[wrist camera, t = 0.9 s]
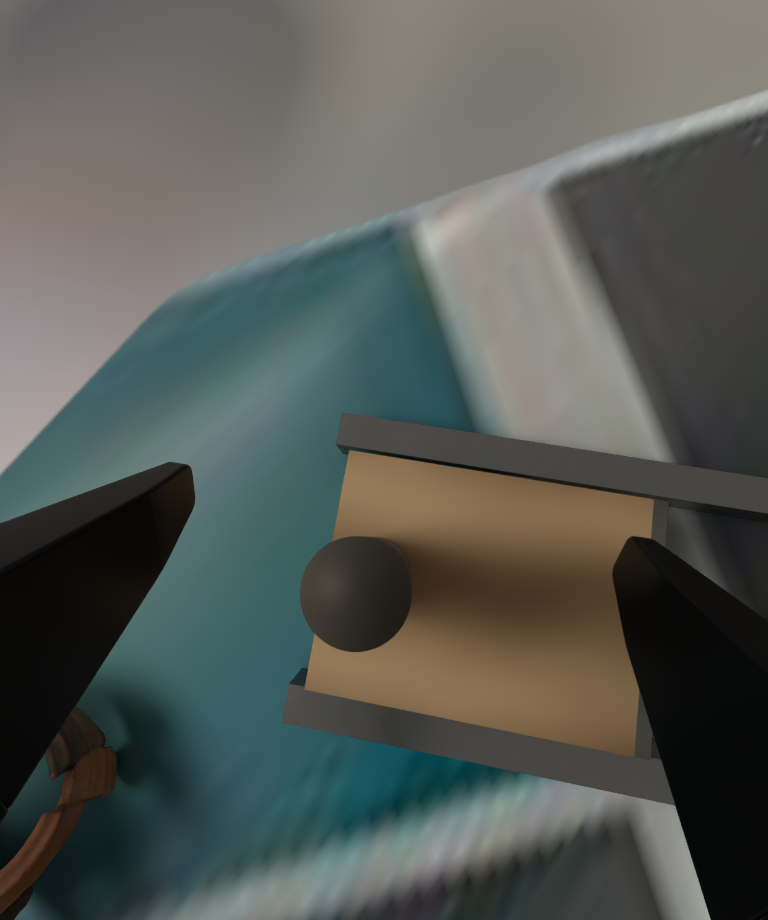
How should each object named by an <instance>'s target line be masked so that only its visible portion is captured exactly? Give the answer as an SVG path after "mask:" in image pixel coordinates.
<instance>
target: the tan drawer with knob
mask: <svg viewBox="0 0 768 920" xmlns="http://www.w3.org/2000/svg"><path fill="white" fill-rule="evenodd" d="M668 506H669V502H667V501H661V500H655V499H649V498H642V497H636V496H630V495H624V494H618V493H611V492H605V491H599V490H593V489H587V488H581V487H574V486H568V485H562V484H556V483H550V482H543V481H537V480H531V479H525V478H519V477H512V476H506V475H500V474H494V473H488V472H481V471H475V470H469V469H463V468H457V467H451V466H444V465H438V464H432V463H426V462H420V461H413V460H407V459H401V458H395V457H389V456H382V455H376V454H370V453H364V452H358V451H352V450H349V455H348V460H347V466H346V471H345V476H344V481H343V487H342V492H341V497H340V503H339V508H338V513H337V519H336V524H335V529H334V535H333V540H332V542H331V543H329V544H327V545H326V546H324V547H323V548H322V549H321V550H319V551H318V552H317V553H316V554H315V556H314V557H313V558H312V559H311V561H310V562H309V564H308V566H307V568H306V570H305V572H304V575H303V578H302V582H301V588H300V600H301V607H302V611H303V614H304V617H305V619H306V621H307V623H308V625H309V627H310V628H311V629H312V631H313V632H314V633H315V635H314V641H313V646H312V651H311V657H310V662H309V667H308V672H307V678H306V683H305V688H304V690H309V691H314V692H319V693H323V694H328V695H333V696H338V697H343V698H348V699H353V700H358V701H362V702H367V703H372V704H377V705H382V706H387V707H392V708H397V709H401V710H406V711H411V712H416V713H421V714H426V715H431V716H436V717H440V718H445V719H450V720H455V721H460V722H465V723H470V724H475V725H479V726H484V727H489V728H494V729H499V730H504V731H509V732H513V733H518V734H523V735H528V736H533V737H538V738H543V739H548V740H552V741H557V742H562V743H567V744H572V745H577V746H582V747H587V748H591V749H596V750H601V751H606V752H611V753H616V754H621V755H626V756H630V757H635V758H640V759H645V760H650V758H651V744H652V729H651V726H650V723H649V720H648V716H647V713H646V710H645V707H644V704H643V700H642V697H641V694H640V691H639V688H638V684H637V681H636V678H635V675H634V671H633V668H632V665H631V662H630V659H629V655H628V652H627V648H626V644H625V640H624V635H623V630H622V625H621V620H620V615H619V609H618V604H617V599H616V594H615V589H614V583H613V578H612V570H613V566H614V564H615V562H616V560H617V558H618V556H619V554H620V552H621V550H622V548H623V546H624V544H625V542H626V541H627V539H628V538H629V537H631V536H638V537H645V538H651V539H653V540H655V541H657V542H658V543H659V544H661V545H662V546H664V547H665V548H666V534H667V520H668Z"/></svg>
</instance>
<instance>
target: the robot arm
mask: <svg viewBox="0 0 768 920" xmlns="http://www.w3.org/2000/svg"><path fill="white" fill-rule="evenodd" d="M194 504H195V491H194V483H193V474H192V469H191V467H190V466H189V465H187V464H181V463H175V462H168V463H165V464H162V465H159V466H157V467H154V468H151V469H148V470H146V471H143V472H140V473H137V474H135V475H132V476H129V477H126V478H124V479H121V480H118V481H115V482H113V483H110V484H107V485H104V486H102V487H99V488H96V489H93V490H91V491H88V492H85V493H82V494H80V495H77V496H74V497H71V498H69V499H66V500H63V501H60V502H58V503H55V504H52V505H49V506H47V507H44V508H41V509H38V510H36V511H33V512H30V513H27V514H25V515H22V516H19V517H16V518H14V519H11V520H8V521H5V522H3V523H0V823H1V821H2V820H3V818H4V817H5V815H6V814H7V812H8V809H7V808H9V807H10V806H11V805H12V804H13V802H14V801H15V799H16V797H17V796H18V794H19V793H20V791H21V790H22V788H23V787H24V785H25V783H26V782H27V780H28V779H29V777H30V776H31V774H32V773H33V771H34V769H35V768H36V766H37V765H38V763H39V762H40V760H41V759H42V757H43V755H44V754H45V752H46V751H47V749H48V748H49V746H50V745H51V743H52V741H53V740H54V738H55V737H56V735H57V734H58V732H59V731H60V729H61V727H62V726H63V724H64V723H65V721H66V720H67V718H68V717H69V715H70V713H71V712H72V710H73V709H74V707H75V706H76V704H77V703H78V701H79V699H80V698H81V696H82V695H83V693H84V692H85V690H86V689H87V687H88V685H89V684H90V682H91V681H92V679H93V678H94V676H95V675H96V673H97V671H98V670H99V668H100V667H101V665H102V664H103V662H104V661H105V659H106V657H107V656H108V654H109V653H110V651H111V650H112V648H113V647H114V645H115V643H116V642H117V640H118V639H119V637H120V636H121V634H122V633H123V631H124V629H125V628H126V626H127V625H128V623H129V622H130V620H131V619H132V617H133V615H134V614H135V612H136V611H137V609H138V608H139V606H140V605H141V603H142V601H143V600H144V598H145V597H146V595H147V594H148V592H149V591H150V589H151V587H152V586H153V584H154V583H155V581H156V580H157V578H158V576H159V575H160V573H161V572H162V570H163V568H164V566H165V564H166V563H167V561H168V559H169V557H170V555H171V553H172V551H173V549H174V547H175V545H176V543H177V540H178V538H179V536H180V534H181V532H182V530H183V528H184V526H185V524H186V522H187V520H188V518H189V516H190V514H191V512H192V510H193V508H194ZM612 578H613V583H614V589H615V594H616V599H617V604H618V609H619V615H620V620H621V625H622V630H623V635H624V640H625V644H626V648H627V652H628V655H629V659H630V662H631V665H632V668H633V671H634V675H635V678H636V681H637V684H638V688H639V691H640V694H641V697H642V700H643V704H644V707H645V710H646V713H647V716H648V720H649V723H650V726H651V729H652V732H653V736H654V739H655V742H656V745H657V748H658V752H659V755H660V758H661V761H662V765H663V768H664V771H665V774H666V777H667V781H668V784H669V787H670V790H671V793H672V797H673V800H674V803H675V806H676V809H677V813H678V816H679V819H680V822H681V826H682V829H683V832H684V835H685V838H686V842H687V845H688V848H689V851H690V854H691V858H692V861H693V864H694V867H695V870H696V874H697V877H698V880H699V883H700V887H701V890H702V893H703V896H704V899H705V903H706V906H707V909H708V912H709V915H710V919H711V920H768V621H767V620H766V619H764V618H763V617H761V616H760V615H759V614H757V613H756V612H754V611H753V610H752V609H750V608H749V607H747V606H746V605H745V604H743V603H742V602H740V601H739V600H738V599H736V598H735V597H734V596H732V595H731V594H729V593H728V592H727V591H725V590H724V589H722V588H721V587H720V586H718V585H717V584H715V583H714V582H713V581H711V580H710V579H708V578H707V577H706V576H704V575H703V574H701V573H700V572H699V571H697V570H696V569H694V568H693V567H692V566H690V565H689V564H687V563H686V562H685V561H683V560H682V559H680V558H679V557H678V556H676V555H675V554H673V553H672V552H671V551H669V550H668V549H666V548H665V547H664V546H662V545H661V544H659V543H658V542H657V541H655V540H653V539H651V538H645V537H638V536H631V537H629V538H628V539H627V541H626V542H625V544H624V546H623V548H622V550H621V552H620V554H619V556H618V558H617V560H616V562H615V564H614V566H613V570H612Z"/></svg>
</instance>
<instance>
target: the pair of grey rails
mask: <svg viewBox="0 0 768 920" xmlns="http://www.w3.org/2000/svg"><path fill="white" fill-rule="evenodd" d="M336 445H337V446H338V448H339V449H340V450H341V452H342V453H344V454H349V450H352V451H358V452H364V453H370V454H376V455H382V456H389V457H395V458H401V459H407V460H413V461H420V462H426V463H432V464H438V465H444V466H451V467H457V468H463V469H469V470H475V471H481V472H488V473H494V474H500V475H506V476H512V477H519V478H525V479H531V480H537V481H543V482H550V483H556V484H562V485H568V486H574V487H581V488H587V489H593V490H599V491H605V492H611V493H618V494H624V495H630V496H636V497H642V498H649V499H655V500H661V501H667V502H669V506H671V507H677V508H683V509H689V510H696V511H702V512H708V513H714V514H720V515H726V516H733V517H739V518H745V519H751V520H757V521H763V522H768V478H762V477H756V476H749V475H743V474H736V473H730V472H723V471H717V470H711V469H704V468H698V467H691V466H685V465H678V464H672V463H665V462H659V461H653V460H646V459H640V458H633V457H627V456H620V455H614V454H607V453H601V452H594V451H588V450H582V449H575V448H569V447H562V446H556V445H549V444H543V443H536V442H530V441H524V440H517V439H511V438H504V437H498V436H491V435H485V434H478V433H472V432H466V431H459V430H453V429H446V428H440V427H433V426H427V425H420V424H414V423H408V422H401V421H395V420H388V419H382V418H375V417H369V416H362V415H356V414H350V413H343V412H342V414H341V419H340V424H339V429H338V435H337V440H336ZM307 672H308V670H306V669H301V670H300V671H299V672H298V674H297V675H296V676H295V677H294V678H293V680H292V681H291V682H290V683H289V687H288V692H287V698H286V703H285V708H284V713H283V718H282V722H284V723H288V724H293V725H298V726H302V727H307V728H312V729H317V730H321V731H326V732H331V733H336V734H340V735H345V736H350V737H354V738H359V739H364V740H369V741H373V742H378V743H383V744H387V745H392V746H397V747H402V748H406V749H411V750H416V751H421V752H425V753H430V754H435V755H439V756H444V757H449V758H454V759H458V760H463V761H468V762H472V763H477V764H482V765H487V766H491V767H496V768H501V769H506V770H510V771H515V772H520V773H524V774H529V775H534V776H539V777H543V778H548V779H553V780H557V781H562V782H567V783H572V784H576V785H581V786H586V787H591V788H595V789H600V790H605V791H609V792H614V793H619V794H624V795H628V796H633V797H638V798H642V799H647V800H652V801H657V802H661V803H666V804H671V805H675V803H674V800H673V797H672V793H671V790H670V787H669V784H668V781H667V777H666V774H665V771H664V768H663V765H662V761H661V758H660V755H659V752H658V748H657V745H656V742H655V740H654V739H652V744H651V758H650V760H645V759H640V758H635V757H630V756H626V755H621V754H616V753H611V752H606V751H601V750H596V749H591V748H587V747H582V746H577V745H572V744H567V743H562V742H557V741H552V740H548V739H543V738H538V737H533V736H528V735H523V734H518V733H513V732H509V731H504V730H499V729H494V728H489V727H484V726H479V725H475V724H470V723H465V722H460V721H455V720H450V719H445V718H440V717H436V716H431V715H426V714H421V713H416V712H411V711H406V710H401V709H397V708H392V707H387V706H382V705H377V704H372V703H367V702H362V701H358V700H353V699H348V698H343V697H338V696H333V695H328V694H323V693H319V692H314V691H309V690H304V688H305V683H306V678H307Z"/></svg>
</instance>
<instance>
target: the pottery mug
mask: <svg viewBox="0 0 768 920" xmlns="http://www.w3.org/2000/svg"><path fill="white" fill-rule="evenodd" d="M105 741H106V738H105V735H104V733H103V732H102V731H101V730H100V729H99V728H98V726H97V725H96V724H95V723H94V722H93V721H92V720H91V719H90V718H89V717H88V716H87V715H86V714H85V713H83V712H82V711H81V710H80V709H79V708H77V707H76V706H75V707H74V709H73V710H72V712H71V713H70V715H69V717H68V718H67V720H66V721H65V723H64V724H63V726H62V727H61V729H60V731H59V732H58V734H57V735H56V737H55V738H54V740H53V741H52V743H51V745H50V746H49V748H48V749H47V751H46V752H45V756H46V759H47V763H48V767H49V775H50V779H51V780H53V779H55V778H57V777H58V776H59V775H60V774H62V773H63V772H65V773H64V779H63V789H62V793H61V796H60V799H59V801H58V804H57V806H56V808H55V809H53V810H51V811H48V812H46V813H44V814H42V815H41V817H40V819H39V821H38V823H37V825H36V826H35V828H34V830H33V832H32V833H31V835H30V836H29V838H28V839H27V841H26V842H25V844H24V845H23V847H22V848H21V849H20V851H19V852H18V853H17V854H16V856H15V857H14V858H13V859H12V860H11V861H10V862H9V863H8V864H7V865H6V866H5V867H4V868H3V869H2V870H0V920H14V919H15V918H16V916H17V915H18V914H19V912H20V911H21V910H22V909H23V908H24V907H25V906H26V905H27V903H28V901H29V899H30V897H31V895H32V893H33V887H32V886H31V885H32V884H33V883H34V882H35V881H36V880H37V879H38V877H39V876H40V875H41V874H42V872H43V871H44V870H45V868H46V867H47V866H48V865H49V863H50V862H51V861H52V859H53V858H54V857H55V855H56V854H57V853H58V852H59V851H60V849H61V848H62V847H63V845H64V844H65V843H66V841H67V840H68V838H69V836H70V835H71V833H72V832H73V830H74V828H75V826H76V824H77V823H78V821H79V819H80V817H81V814H82V812H83V810H84V808H85V804H86V800H88V799H92V798H95V797H97V796H99V795H100V796H103V797H106V796H108V795H109V793H110V791H111V790H112V789H113V788H114V786H115V780H116V769H117V756H116V753H115V752H114V751H113V749H112V747H111V746H109V747H104V745H105Z"/></svg>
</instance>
